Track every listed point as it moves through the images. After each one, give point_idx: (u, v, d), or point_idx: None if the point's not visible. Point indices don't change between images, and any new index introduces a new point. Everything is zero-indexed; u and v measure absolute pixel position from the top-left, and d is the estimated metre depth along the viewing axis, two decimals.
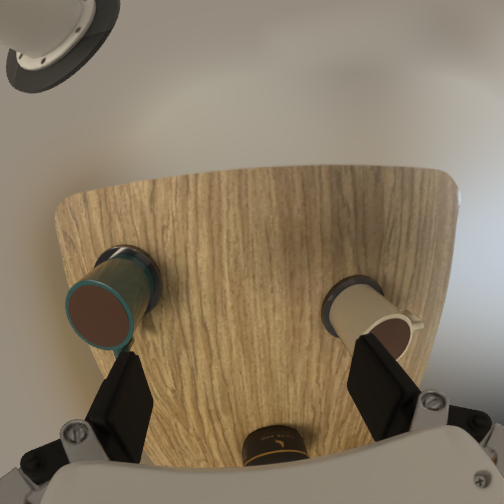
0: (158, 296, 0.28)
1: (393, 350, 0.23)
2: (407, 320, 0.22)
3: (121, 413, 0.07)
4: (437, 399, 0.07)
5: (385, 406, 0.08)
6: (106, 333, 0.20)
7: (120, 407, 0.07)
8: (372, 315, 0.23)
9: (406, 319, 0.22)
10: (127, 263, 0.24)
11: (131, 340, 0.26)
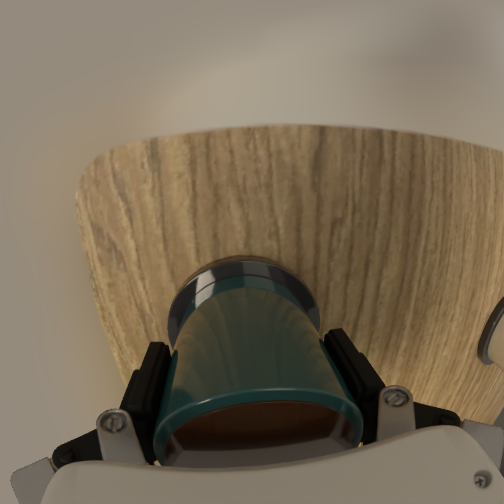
0: None
1: None
2: None
3: (157, 400, 0.08)
4: (399, 394, 0.07)
5: None
6: None
7: (156, 395, 0.08)
8: None
9: None
10: (284, 300, 0.11)
11: None
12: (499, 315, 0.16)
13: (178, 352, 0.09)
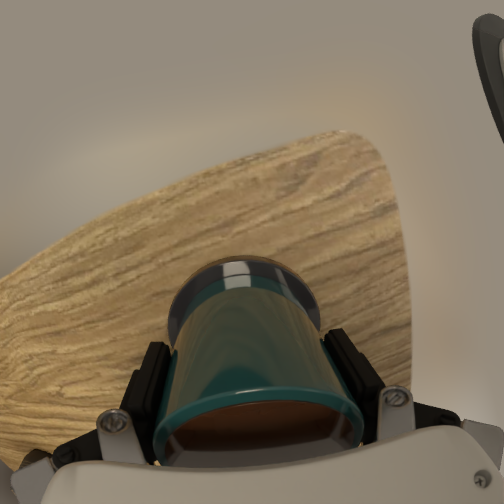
0: None
1: None
2: None
3: (157, 400, 0.08)
4: (399, 394, 0.07)
5: None
6: None
7: (156, 395, 0.08)
8: None
9: None
10: (285, 300, 0.11)
11: None
12: None
13: (178, 351, 0.09)
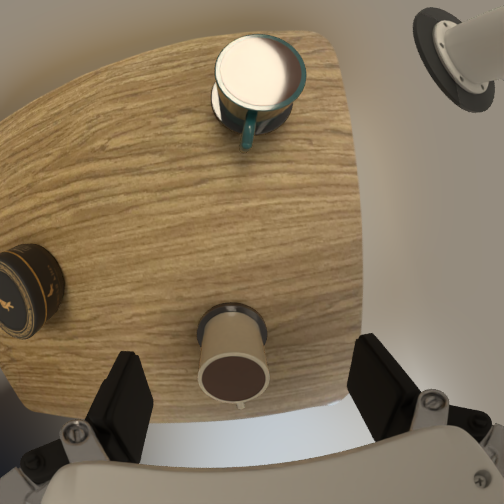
0: (240, 131, 0.25)
1: (226, 389, 0.24)
2: (261, 392, 0.24)
3: (121, 413, 0.07)
4: (437, 399, 0.07)
5: (385, 406, 0.08)
6: (264, 89, 0.17)
7: (120, 407, 0.07)
8: (263, 357, 0.24)
9: (261, 391, 0.24)
10: None
11: None
12: (249, 311, 0.30)
13: None
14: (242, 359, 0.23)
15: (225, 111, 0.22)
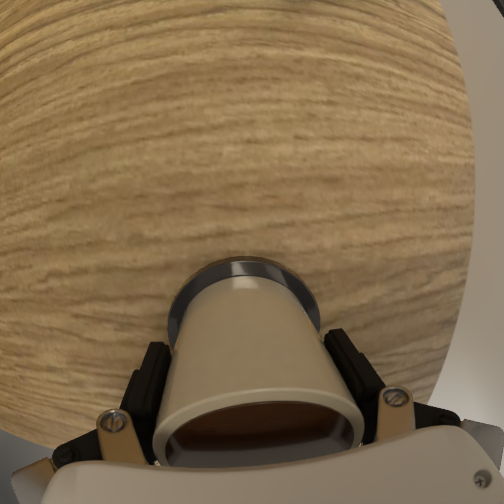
0: None
1: None
2: None
3: (157, 400, 0.08)
4: (399, 394, 0.07)
5: None
6: None
7: (156, 394, 0.08)
8: (350, 393, 0.07)
9: None
10: None
11: None
12: (290, 278, 0.13)
13: None
14: (304, 409, 0.06)
15: None
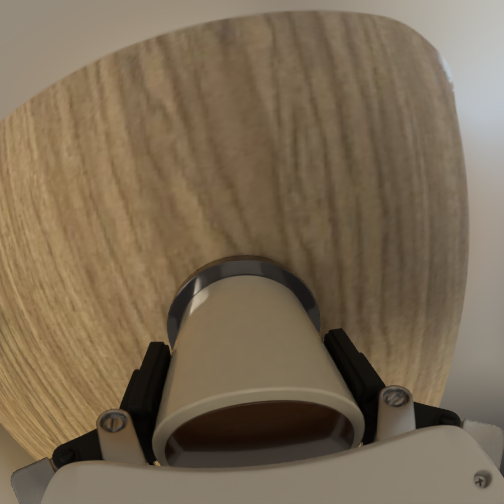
0: None
1: None
2: None
3: (157, 400, 0.08)
4: (399, 394, 0.07)
5: None
6: None
7: (156, 395, 0.08)
8: (349, 389, 0.07)
9: None
10: None
11: None
12: (175, 307, 0.13)
13: None
14: (299, 408, 0.06)
15: None
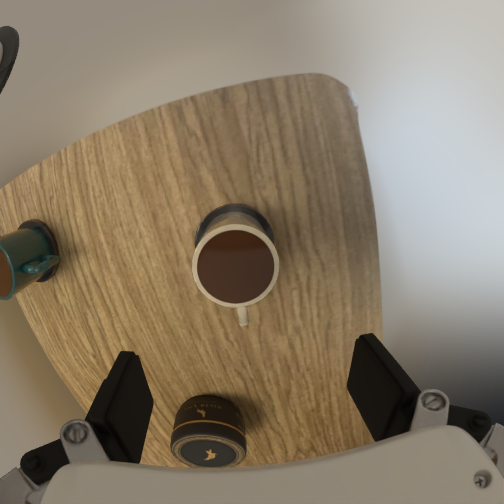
0: None
1: (225, 283, 0.21)
2: (268, 289, 0.21)
3: (121, 413, 0.07)
4: (437, 399, 0.07)
5: (385, 406, 0.08)
6: (3, 267, 0.19)
7: (120, 407, 0.07)
8: None
9: (270, 287, 0.21)
10: None
11: (51, 257, 0.24)
12: (200, 229, 0.27)
13: None
14: (247, 235, 0.20)
15: (39, 275, 0.25)
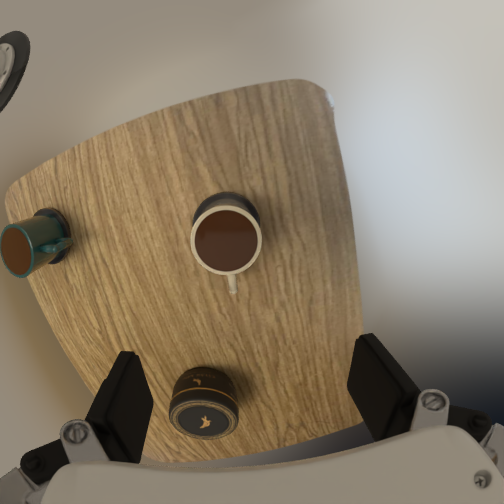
0: None
1: (218, 254, 0.26)
2: (253, 259, 0.26)
3: (121, 413, 0.07)
4: (437, 399, 0.07)
5: (385, 406, 0.08)
6: (23, 248, 0.24)
7: (120, 407, 0.07)
8: None
9: (254, 258, 0.26)
10: None
11: (66, 239, 0.29)
12: (197, 213, 0.32)
13: None
14: (235, 214, 0.25)
15: (53, 257, 0.30)
